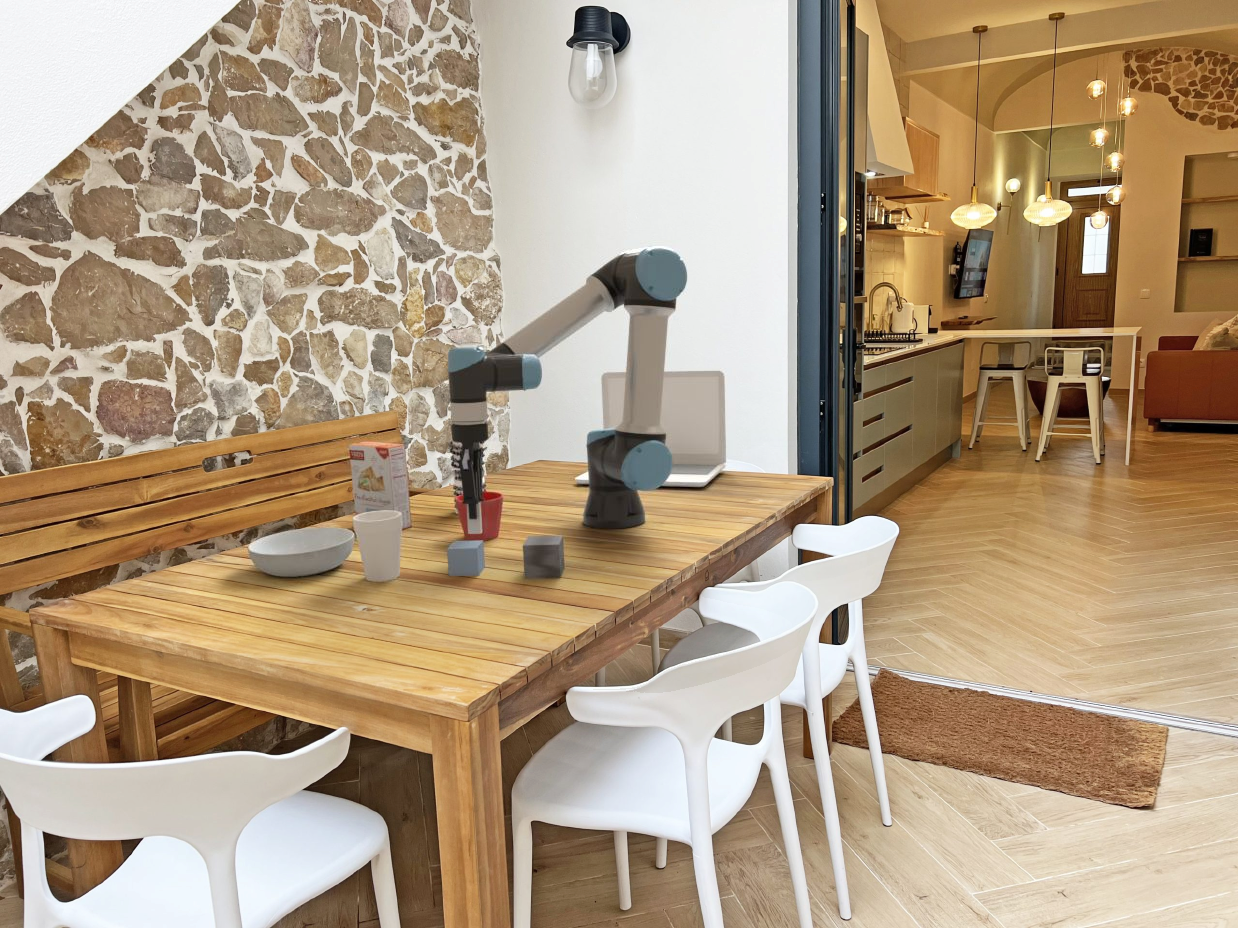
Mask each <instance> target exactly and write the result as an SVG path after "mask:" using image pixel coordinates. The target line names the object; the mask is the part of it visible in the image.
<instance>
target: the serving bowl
mask: <svg viewBox="0 0 1238 928" xmlns="http://www.w3.org/2000/svg"><path fill="white" fill-rule="evenodd" d="M355 536H356V534H355V533H354V532H353V531H352V530H350V529H347V528H342V527H331V526H329V527H326V526H325V527H323V526H322V527H318V526H317V527H307V528H299V529H291V530H285V531H281V532H277V533H273V534H269V535H266V536H263V537H261V538H257V539H256V540H254V541H252V542H251V543H249V545H248V546H247V551H248V555H249V557H250V560H251V562H252V563H253V564H254V566H255V567H256V568H258V569H259V570H260V571H262V572H263V573H264V574H265V573H266V574H268V575H271V576H275V577H282V578H283V577H285V578H296V577H297V578H298V577H299V576H300V577H307V576H314V575H317V574H320V573H325V572H327V571H330V570H332V569H335V568H337V567H339V566H340V565H342V564H343V563H344V562H345V561H346V560H347V559H349V557H350V556H351V553H352V551H353V548H354V546H355Z"/></svg>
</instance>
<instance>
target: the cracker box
mask: <svg viewBox="0 0 1238 928" xmlns="http://www.w3.org/2000/svg"><path fill="white" fill-rule="evenodd" d="M348 448H349V450H348V451H349V459H350V460H349V461H350V470H351V479H352V480H351V481H352V489H353V502H354V512H355V516H356V515H358V514H362V513H366V512H372V511H383V510H390V511H398V512H401V513H402V519H403V526H402V531H403V530H406V529H409V528H411V527H413V526H412V525H413V523H412V514H411V513H412V512H411V501H410V489H409V487H410V486H409V477H408V475H409V474H408V465H407V453H406V452H407V451H406V444H402V443H388V442H377V441H368V440H367V441H361V442H354V443H350V444H349V445H348Z"/></svg>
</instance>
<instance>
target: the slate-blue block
mask: <svg viewBox="0 0 1238 928" xmlns="http://www.w3.org/2000/svg"><path fill="white" fill-rule="evenodd" d="M446 555H447V566H448V570H447V571H448V576H449V577H464V576H465V577H466V576H467V577H469V576H470V577H471V576H472V577H473V576H474V577H475V576H476V575H477V576H478V577H479V576H480V575H481V573H482V572H483V571H484V569H485V568H486V563H485V545H484V540H478V541H472V540H454V541H452V543H450V545H449V546H448V547H447V548H446Z"/></svg>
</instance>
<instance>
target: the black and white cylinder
mask: <svg viewBox="0 0 1238 928" xmlns="http://www.w3.org/2000/svg"><path fill="white" fill-rule="evenodd" d="M452 424H454V422H453V421H452V420H451V422H449V425H450V426H451V425H452ZM450 431H451V430H450ZM450 440H451V441H450V442H449V443H448V445H449V453H450V454H451V456H450V460H451V464H450V466H451V469H452V470H453V471H454V472H453V475H454V479H453V486H452V489H453V490H454V492H453V495H454V496H455V497H454V499H453V502H454V506H453V507H454V509H455V511H454V513H456V514H457V515H459V514H458V510H457V506H456V501H455V498H456V497H457V496H459V495H462V494H463V489H462V480H461V472H460V467H459V463H458V462H459V460H461V459H460V451H462V443H457V442H454V441H453V440H452V431H451V434H450ZM485 442H486V441H483V442H479V445H480V449H482V451H483V452H484V451H485V450H486V449H485V447H483V446H482V445H483V444H485ZM485 456H486V455H485V453H483V458H485ZM485 464H486V463H485V461H482V492H487V489H486V487H487V483H485V476H484V475H485V474H484V467H485Z"/></svg>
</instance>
